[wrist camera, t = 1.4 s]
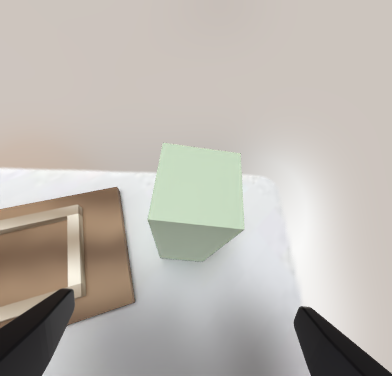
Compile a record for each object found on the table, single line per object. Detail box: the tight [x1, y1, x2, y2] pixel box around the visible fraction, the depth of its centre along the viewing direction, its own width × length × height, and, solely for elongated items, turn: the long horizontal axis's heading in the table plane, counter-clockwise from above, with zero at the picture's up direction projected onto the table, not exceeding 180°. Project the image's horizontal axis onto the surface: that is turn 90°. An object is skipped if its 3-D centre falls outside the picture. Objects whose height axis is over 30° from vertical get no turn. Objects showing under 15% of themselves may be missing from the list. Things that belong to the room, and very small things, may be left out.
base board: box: [0, 187, 135, 328], centre depth 17 cm, size 12×16×2 cm
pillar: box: [148, 143, 244, 262], centre depth 15 cm, size 4×4×13 cm
